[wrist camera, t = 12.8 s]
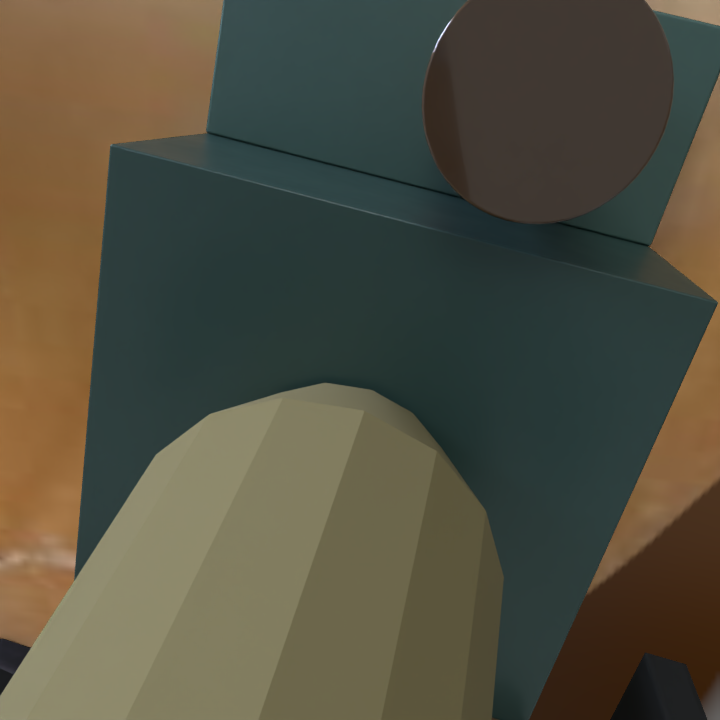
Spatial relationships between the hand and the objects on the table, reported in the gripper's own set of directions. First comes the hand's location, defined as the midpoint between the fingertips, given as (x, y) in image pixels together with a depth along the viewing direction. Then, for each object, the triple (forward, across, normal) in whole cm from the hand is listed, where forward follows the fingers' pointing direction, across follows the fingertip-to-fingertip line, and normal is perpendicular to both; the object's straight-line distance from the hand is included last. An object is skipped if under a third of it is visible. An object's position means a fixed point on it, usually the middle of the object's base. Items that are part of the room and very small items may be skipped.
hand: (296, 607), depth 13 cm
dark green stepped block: (+15, 0, +3) cm, 15 cm away
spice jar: (+11, +2, +10) cm, 15 cm away
